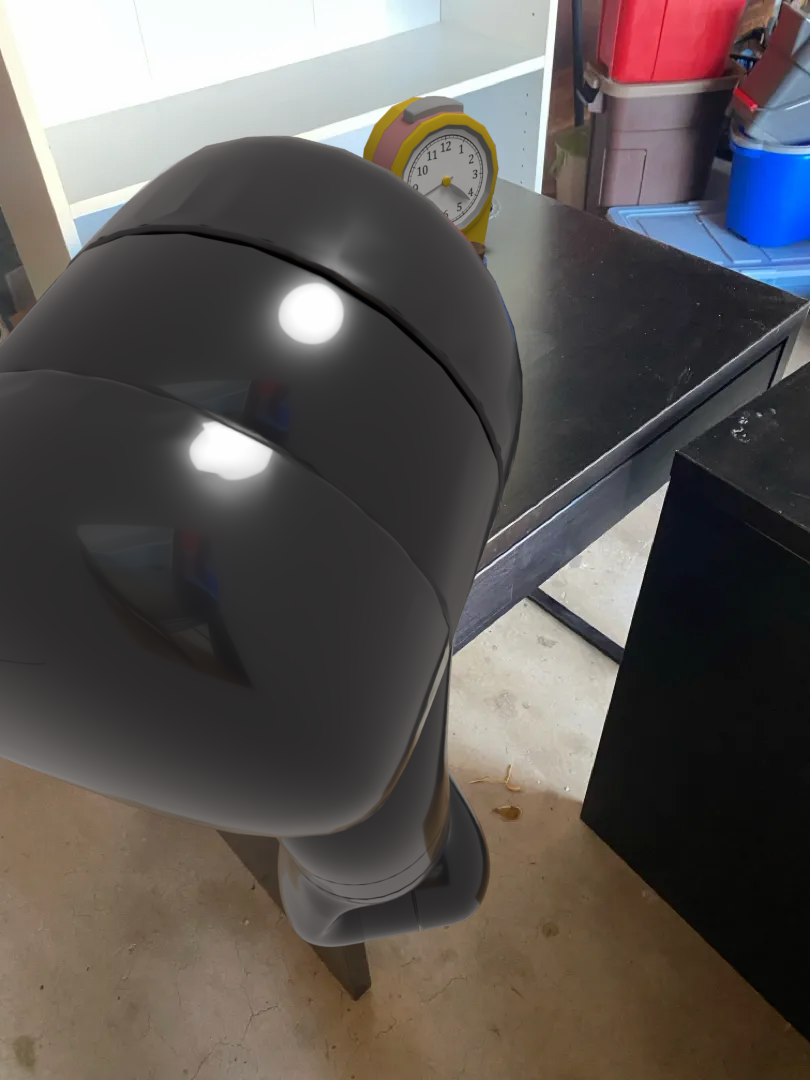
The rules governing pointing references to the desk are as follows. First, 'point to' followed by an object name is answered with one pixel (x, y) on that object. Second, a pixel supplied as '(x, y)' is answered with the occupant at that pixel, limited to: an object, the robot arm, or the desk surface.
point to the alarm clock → (440, 158)
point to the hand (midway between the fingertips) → (328, 461)
